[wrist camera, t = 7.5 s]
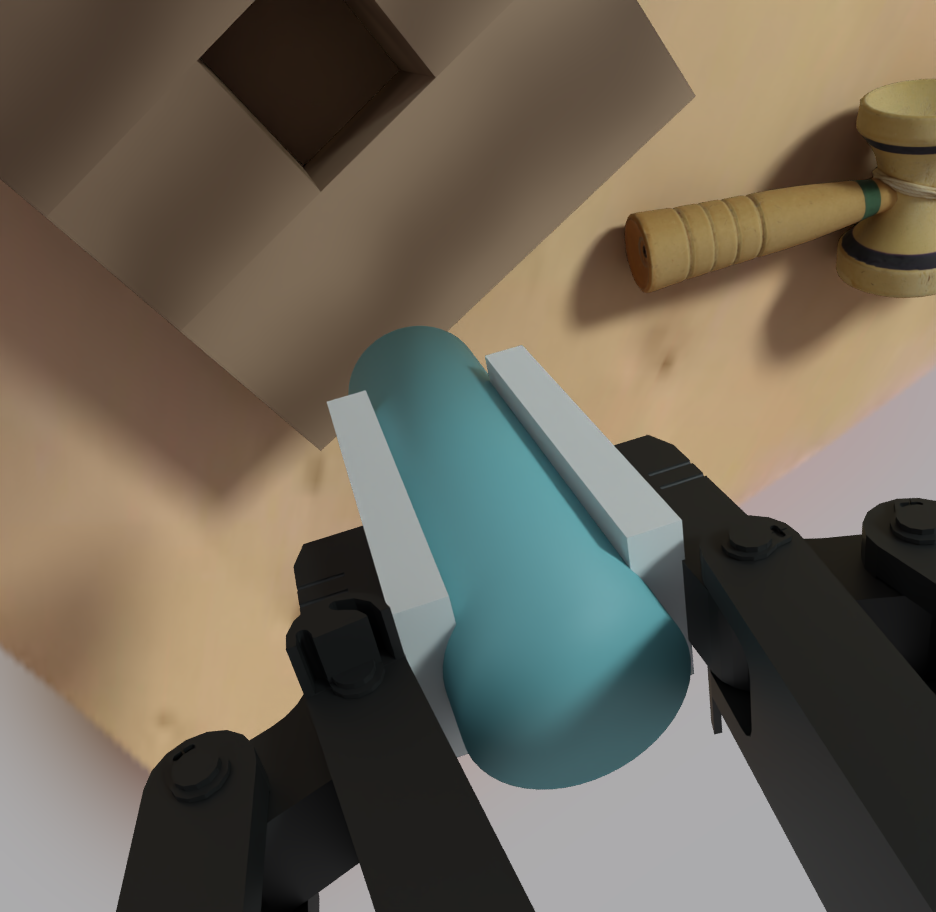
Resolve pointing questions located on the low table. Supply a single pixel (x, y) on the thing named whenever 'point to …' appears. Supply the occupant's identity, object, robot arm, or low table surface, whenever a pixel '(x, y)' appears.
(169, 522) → the low table surface
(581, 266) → the low table surface
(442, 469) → the peg
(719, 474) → the low table surface
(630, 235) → the kendama
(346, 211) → the hole block
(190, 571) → the low table surface
